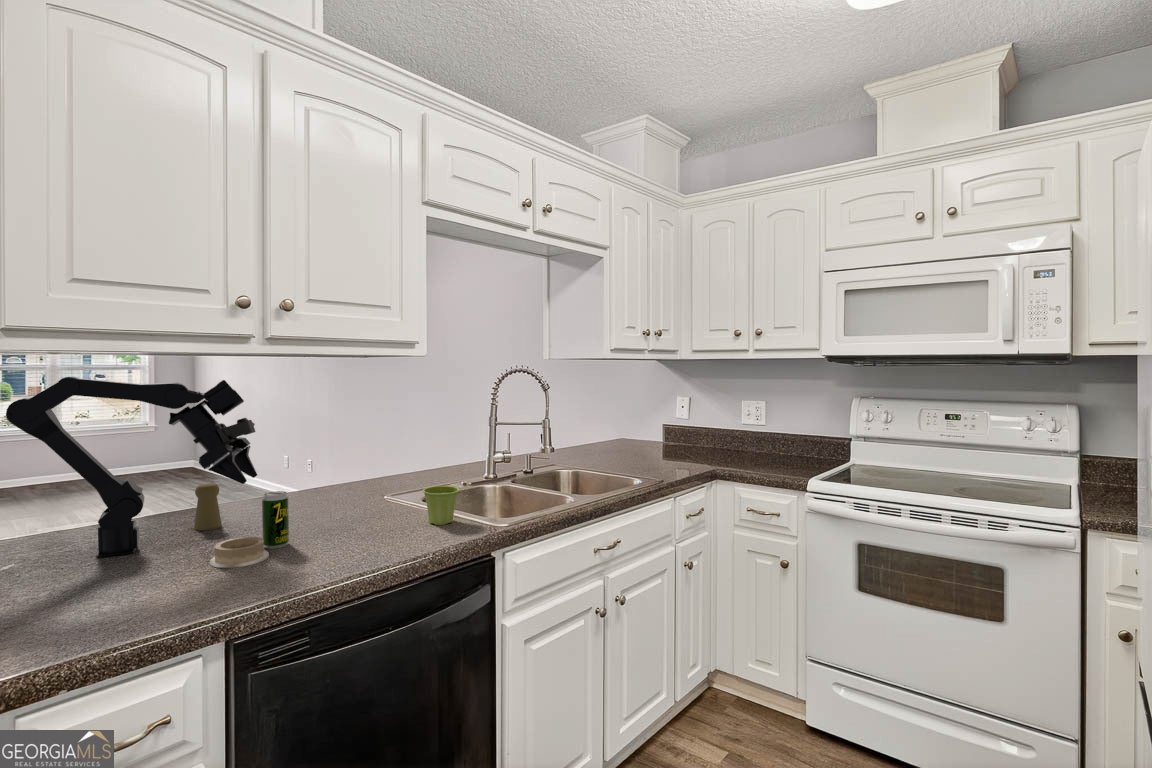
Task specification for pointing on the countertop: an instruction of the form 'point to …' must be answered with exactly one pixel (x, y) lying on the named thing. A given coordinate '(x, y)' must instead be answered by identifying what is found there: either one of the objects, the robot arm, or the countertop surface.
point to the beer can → (275, 519)
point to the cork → (207, 507)
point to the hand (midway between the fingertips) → (250, 479)
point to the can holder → (239, 552)
